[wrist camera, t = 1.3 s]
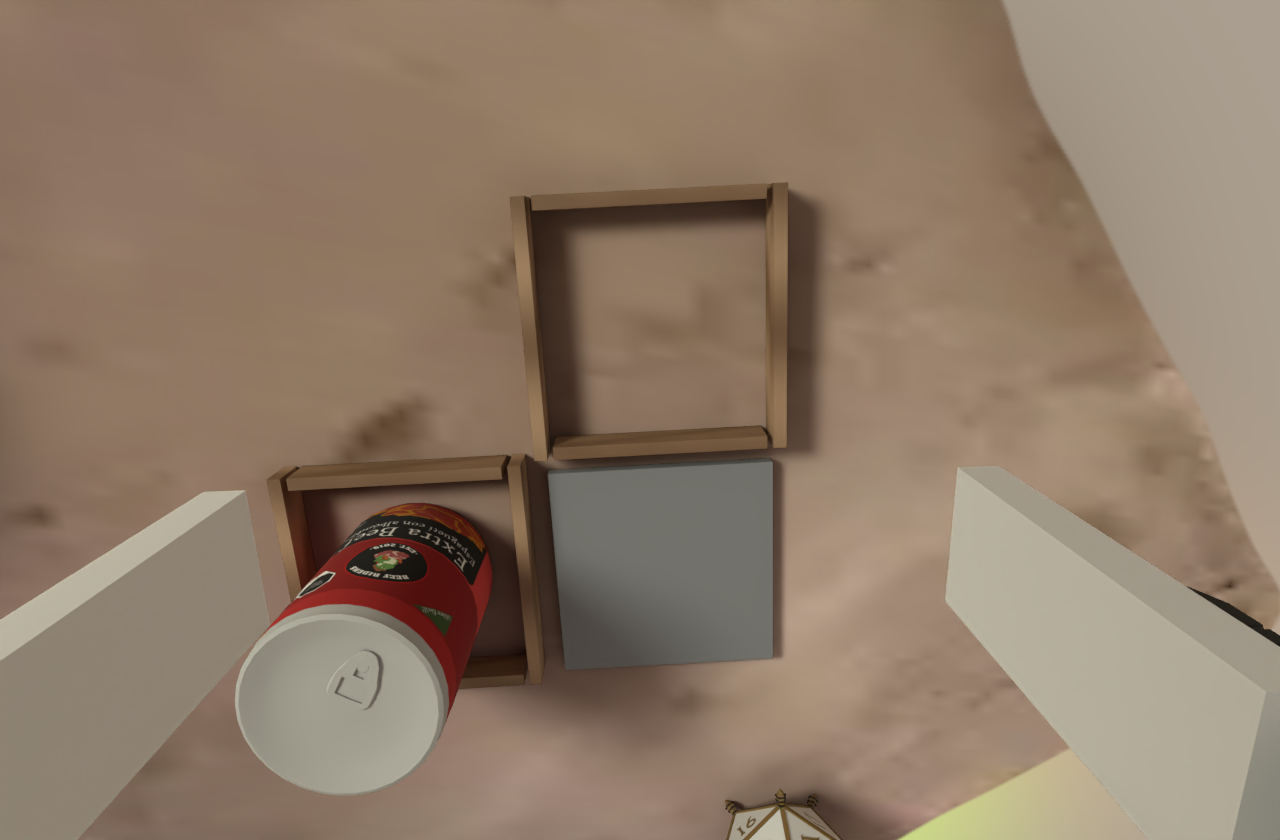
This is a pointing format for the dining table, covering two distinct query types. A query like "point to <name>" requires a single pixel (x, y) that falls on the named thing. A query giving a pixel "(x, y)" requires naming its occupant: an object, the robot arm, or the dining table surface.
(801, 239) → the dining table surface
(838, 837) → the game die
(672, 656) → the slate board
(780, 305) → the empty crate
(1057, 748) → the dining table surface
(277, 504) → the frame
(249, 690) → the canned food
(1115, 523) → the dining table surface
